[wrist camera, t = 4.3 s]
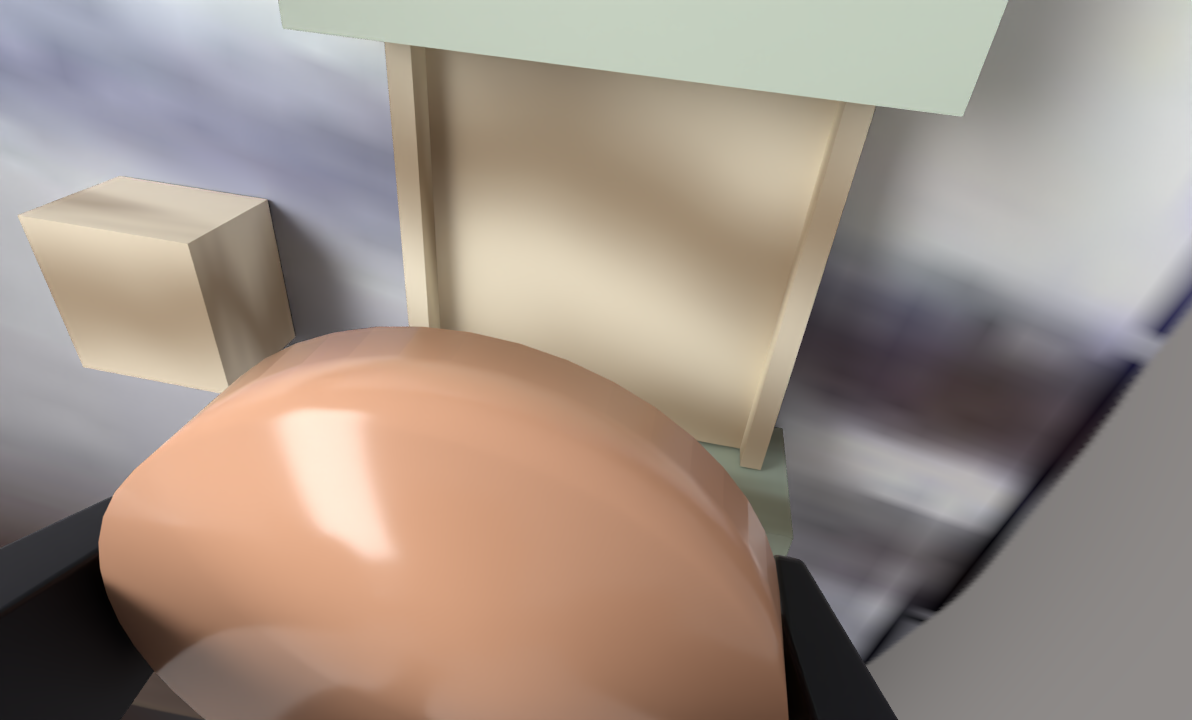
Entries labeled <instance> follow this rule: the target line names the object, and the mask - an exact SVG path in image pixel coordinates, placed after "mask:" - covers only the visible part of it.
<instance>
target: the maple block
mask: <svg viewBox="0 0 1192 720" xmlns="http://www.w3.org/2000/svg"><path fill="white" fill-rule="evenodd" d="M18 218H19V220H20V222H21V225H22V227H23V229H24V232H25V234H26V236H27V238H28V241H29V243H30V245H31V248H32V250H33V252H34V255H35V257H36V259H37V261H38V264H39V266H40V268H41V271H42V273H43V275H44V278H45V280H46V282H47V285H48V287H49V289H50V291H51V294H52V296H53V298H54V301H55V303H56V305H57V308H58V310H59V312H60V314H61V317H62V319H63V321H64V324H65V326H66V328H67V331H68V333H69V335H70V337H71V340H72V342H73V344H74V347H75V349H76V351H77V354H78V356H79V358H80V361H81V363H82V365H83V367H86V368H91V369H96V370H101V371H106V372H112V373H117V374H122V375H127V376H133V377H138V378H143V379H148V380H153V381H159V382H164V383H169V384H174V385H180V386H185V387H190V388H195V389H200V390H206V391H211V392H216V393H222V392H223V391H224V390H225V389H226V388H228V387H229V386H230V385H231V384H232V383H233V382H234V381H235V380H237V379H238V378H239V377H240V376H241V375H243V374H244V373H246V372H247V371H248V370H250V369H251V368H252V367H254V366H255V365H256V364H258V363H259V362H261V361H262V360H263V359H265V358H267V357H269V356H271V355H273V354H275V353H277V352H279V351H281V350H282V349H283V348H284V347H285V346H286V345H287V344H288V343H289V342H291V341H292V340H293V339H294V338H295V333H294V328H293V323H292V318H291V313H290V308H289V303H288V298H287V293H286V288H285V283H284V278H283V274H282V269H281V264H280V259H279V254H278V249H277V244H276V239H275V234H274V229H273V224H272V219H271V215H270V210H269V205H268V200H267V199H262V198H255V197H249V196H243V195H236V194H230V193H224V192H217V191H211V190H205V189H199V188H192V187H186V186H180V185H173V184H167V183H161V182H154V181H148V180H142V179H135V178H129V177H123V176H118V177H116V178H113V179H110V180H108V181H105V182H103V183H100V184H97V185H95V186H92V187H90V188H87V189H84V190H82V191H79V192H77V193H74V194H71V195H69V196H66V197H64V198H61V199H58V200H56V201H53V202H51V203H48V204H45V205H43V206H40V207H37V208H35V209H32V210H30V211H27V212H24V213H22V214H19V215H18Z"/></svg>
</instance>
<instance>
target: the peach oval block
mask: <svg viewBox="0 0 1192 720" xmlns="http://www.w3.org/2000/svg"><path fill="white" fill-rule="evenodd" d="M98 543H99V560H100V571H101V574H102V578H103V582H104V586H105V589H106V593H107V596H108V598H109V601H110V603H111V605H112V607H113V609H114V612H115V614H116V616H117V618H118V620H119V622H120V624H121V625H122V627H123V629H124V630H125V632H126V633H127V635H128V637H129V638H130V640H131V641H132V643H133V645H134V646H135V647H136V649H137V650H138V651H139V653H140V654H141V655H142V656H143V658H144V659H145V660H146V661H147V663H148V664H149V665H150V666H151V668H152V669H153V670H154V671H155V672H156V673H157V674H158V675H159V677H160V678H161V679H162V680H163V681H164V682H165V683H166V684H167V685H168V686H169V687H170V688H171V689H172V690H173V691H174V692H175V693H176V694H177V695H178V696H179V697H180V698H181V699H182V700H184V701H185V702H186V703H187V704H188V705H189V706H190V707H191V708H193V709H194V710H195V711H196V712H197V713H198V714H199V715H200V716H202V717H203V718H204V719H206V720H789V717H788V703H787V689H786V675H785V662H784V648H783V634H782V620H781V606H780V592H779V584H778V577H777V570H776V562H775V559H774V556H773V553H772V550H771V547H770V544H769V541H768V538H767V536H766V533H765V530H764V528H763V527H762V525H761V523H760V521H759V519H758V517H757V515H756V514H755V512H754V510H753V508H752V506H751V504H750V502H749V501H748V499H747V498H746V496H745V495H744V494H743V492H742V491H741V490H740V488H739V487H738V486H737V484H736V483H735V482H734V480H733V479H732V478H731V477H730V475H729V474H728V473H727V471H726V470H725V469H724V467H723V466H722V465H721V464H720V463H719V462H718V461H717V460H716V459H715V458H714V457H713V456H712V455H711V454H710V453H709V452H708V451H707V450H706V449H705V448H704V447H703V446H702V445H701V444H700V443H699V442H698V441H697V440H696V439H695V438H694V437H693V436H691V435H690V434H689V433H688V432H686V431H685V430H684V429H682V428H681V427H680V426H679V425H677V424H676V423H675V422H674V421H672V420H671V419H670V418H668V417H667V416H666V415H665V414H663V413H662V412H661V411H660V410H658V409H657V408H656V407H654V406H652V405H651V404H649V403H647V402H646V401H644V400H642V399H641V398H639V397H638V396H636V395H634V394H633V393H631V392H629V391H628V390H626V389H625V388H623V387H621V386H620V385H618V384H616V383H615V382H613V381H611V380H609V379H606V378H604V377H602V376H600V375H598V374H596V373H594V372H592V371H590V370H587V369H585V368H583V367H581V366H579V365H577V364H575V363H573V362H570V361H568V360H566V359H563V358H560V357H557V356H554V355H551V354H548V353H545V352H543V351H540V350H537V349H534V348H531V347H528V346H525V345H522V344H520V343H515V342H511V341H507V340H502V339H498V338H493V337H489V336H485V335H480V334H476V333H472V332H465V331H456V330H447V329H439V328H430V327H370V328H363V329H356V330H348V331H341V332H334V333H330V334H327V335H323V336H320V337H316V338H313V339H309V340H306V341H303V342H299V343H296V344H294V345H292V346H290V347H288V348H285V349H283V350H281V351H279V352H277V353H275V354H273V355H271V356H269V357H267V358H265V359H263V360H262V361H261V362H259V363H258V364H256V365H255V366H254V367H252V368H251V369H250V370H248V371H247V372H246V373H244V374H243V375H241V376H240V377H239V378H238V379H237V380H235V381H234V382H233V383H232V384H231V385H230V386H229V387H228V388H226V389H225V390H224V391H223V392H222V393H221V394H220V395H218V396H217V397H216V398H215V399H214V400H213V401H212V402H211V403H209V404H208V405H207V406H206V407H205V408H204V409H203V410H201V411H200V412H199V413H198V414H197V415H196V416H195V417H194V418H192V419H191V420H190V421H189V422H188V423H187V424H186V425H184V426H183V427H182V428H181V429H180V430H179V431H178V432H177V433H175V434H174V435H173V436H172V437H171V438H170V439H169V440H167V441H166V442H165V443H164V444H163V445H162V446H161V447H160V448H158V449H157V450H156V451H155V452H154V453H153V454H152V455H150V456H149V457H148V458H147V459H146V460H145V461H144V462H143V463H141V464H140V465H139V466H138V467H137V468H136V469H135V470H134V471H133V472H132V473H131V474H130V475H129V476H128V478H127V479H126V480H125V481H124V482H123V483H122V485H121V486H120V487H119V488H118V489H117V490H116V492H115V493H114V495H113V497H112V499H111V501H110V503H109V506H108V508H107V510H106V512H105V514H104V516H103V520H102V526H101V531H100V537H99V542H98Z"/></svg>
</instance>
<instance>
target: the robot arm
mask: <svg viewBox="0 0 1192 720" xmlns="http://www.w3.org/2000/svg"><path fill="white" fill-rule="evenodd" d="M112 497H113V496H112ZM112 497H109V498H107V499H105V500H103V501H101V502H99V503H97V504H94V505H92V506H90V507H88V508H86V509H84V510H82V511H79V512H77V513H75V514H73V515H71V516H69V517H66V518H64V519H62V520H60V521H58V522H56V523H54V524H51V525H49V526H47V527H45V528H43V529H41V530H39V531H36V532H34V533H32V534H30V535H28V536H26V537H23V538H21V539H19V540H17V541H15V542H13V543H11V544H8V545H6V546H4V547H2V548H0V720H121V718H122V717H123V715H124V714H125V712H126V711H127V709H128V708H129V706H130V705H131V704H132V702H133V701H134V699H135V698H136V696H137V695H138V694H139V692H140V691H141V689H142V688H143V686H144V685H145V683H146V682H147V680H148V679H149V678H150V676H151V675H152V673H153V672H154V670H153V669H152V668H151V666H150V665H149V664H148V663H147V661H146V660H145V659H144V658H143V656H142V655H141V654H140V653H139V651H138V650H137V649H136V647H135V646H134V645H133V643H132V641H131V640H130V638H129V637H128V635H127V633H126V632H125V630H124V629H123V627H122V625H121V624H120V622H119V620H118V618H117V616H116V614H115V612H114V609H113V607H112V605H111V603H110V601H109V598H108V596H107V593H106V589H105V586H104V582H103V578H102V574H101V571H100V560H99V543H98V542H99V537H100V531H101V526H102V520H103V516H104V514H105V512H106V510H107V508H108V506H109V503H110V501H111V499H112ZM774 559H775V562H776V570H777V577H778V584H779V592H780V606H781V620H782V634H783V648H784V662H785V675H786V689H787V703H788V717H789V720H898V719H897V717H896V716H895V714H894V712H893V711H892V709H891V707H890V706H889V704H888V702H887V701H886V699H885V698H884V696H883V694H882V692H881V691H880V689H879V687H878V686H877V684H876V682H875V681H874V679H873V677H872V676H871V674H870V672H869V671H868V669H867V667H866V665H865V664H864V662H863V660H862V659H861V657H860V655H859V654H858V652H857V650H856V649H855V647H854V645H853V644H852V642H851V640H850V639H849V637H848V635H847V634H846V632H845V630H844V629H843V627H842V625H841V624H840V622H839V620H838V619H837V617H836V615H835V614H834V612H833V610H832V609H831V607H830V605H829V604H828V602H827V600H826V599H825V597H824V595H823V594H822V592H821V590H820V589H819V587H818V585H817V584H816V582H815V580H814V579H813V577H812V575H811V574H810V572H809V570H808V569H807V567H806V565H805V564H804V563H803V562H802V561H801V560H800V559H797V558H792V557H787V556H782V555H774Z"/></svg>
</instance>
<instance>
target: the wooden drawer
mask: <svg viewBox="0 0 1192 720" xmlns="http://www.w3.org/2000/svg"><path fill="white" fill-rule="evenodd" d="M384 43H385V54H386V66H387V77H388V89H389V101H390V112H391V124H392V136H393V147H394V159H395V170H396V182H397V194H398V205H399V217H400V229H401V240H402V252H403V263H404V275H405V287H406V298H407V310H408V322H409V327H430V328H439V329H447V330H456V331H465V332H472V333H476V334H480V335H485V336H489V337H493V338H498V339H502V340H507V341H511V342H515V343H520V344H522V345H525V346H528V347H531V348H534V349H537V350H540V351H543V352H545V353H548V354H551V355H554V356H557V357H560V358H563V359H566V360H568V361H570V362H573V363H575V364H577V365H579V366H581V367H583V368H585V369H587V370H590V371H592V372H594V373H596V374H598V375H600V376H602V377H604V378H606V379H609V380H611V381H613V382H615V383H616V384H618V385H620V386H621V387H623V388H625V389H626V390H628V391H629V392H631V393H633V394H634V395H636V396H638V397H639V398H641V399H642V400H644V401H646V402H647V403H649V404H651V405H652V406H654V407H656V408H657V409H658V410H660V411H661V412H662V413H663V414H665V415H666V416H667V417H668V418H670V419H671V420H672V421H674V422H675V423H676V424H677V425H679V426H680V427H681V428H682V429H684V430H685V431H686V432H688V433H689V434H690V435H691V436H693V437H694V438H695V439H696V440H697V441H698V442H699V443H700V444H701V445H702V446H703V447H704V448H705V449H706V450H707V451H708V452H709V453H710V454H711V455H712V456H713V457H714V458H715V459H716V460H717V461H718V462H719V463H720V464H721V465H722V466H723V467H724V469H725V470H726V471H727V473H728V474H729V475H730V477H731V478H732V479H733V480H734V482H735V483H736V484H737V486H738V487H739V488H740V490H741V491H742V492H743V494H744V495H745V496H746V498H747V499H748V501H749V502H750V504H751V506H752V508H753V510H754V512H755V514H756V515H757V517H758V519H759V521H760V523H761V525H762V527H763V528H764V530H765V533H766V536H767V538H768V541H769V544H770V547H771V550H772V553H773V555H782V556H787V553H788V550H789V548H790V545H791V543H792V540H793V530H792V520H791V510H790V500H789V490H788V480H787V470H786V460H785V450H784V439H783V429H782V428H777V427H774V426H775V423H776V420H777V417H778V414H779V410H780V407H781V404H782V401H783V398H784V395H785V392H786V388H787V385H788V382H789V379H790V376H791V373H792V370H793V366H794V363H795V360H796V357H797V354H798V351H799V347H800V344H801V341H802V338H803V335H804V332H805V329H806V325H807V322H808V319H809V316H810V313H811V310H812V306H813V303H814V300H815V297H816V294H817V291H818V288H819V284H820V281H821V278H822V275H823V272H824V269H825V265H826V262H827V259H828V256H829V253H830V250H831V247H832V243H833V240H834V237H835V234H836V231H837V228H838V224H839V221H840V218H841V215H842V212H843V209H844V206H845V202H846V199H847V196H848V193H849V190H850V187H851V183H852V180H853V177H854V174H855V171H856V168H857V165H858V161H859V158H860V155H861V152H862V149H863V146H864V142H865V139H866V136H867V133H868V130H869V127H870V124H871V120H872V117H873V114H874V111H875V108H876V106H875V105H867V104H859V103H852V102H844V101H836V100H828V99H821V98H813V97H805V96H798V95H790V94H782V93H775V92H767V91H759V90H751V89H744V88H736V87H728V86H721V85H713V84H705V83H698V82H690V81H682V80H674V79H667V78H659V77H651V76H644V75H636V74H628V73H621V72H613V71H605V70H597V69H590V68H582V67H574V66H567V65H559V64H551V63H544V62H536V61H528V60H521V59H513V58H505V57H497V56H490V55H482V54H474V53H467V52H459V51H451V50H444V49H436V48H428V47H420V46H413V45H405V44H397V43H390V42H384Z"/></svg>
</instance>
